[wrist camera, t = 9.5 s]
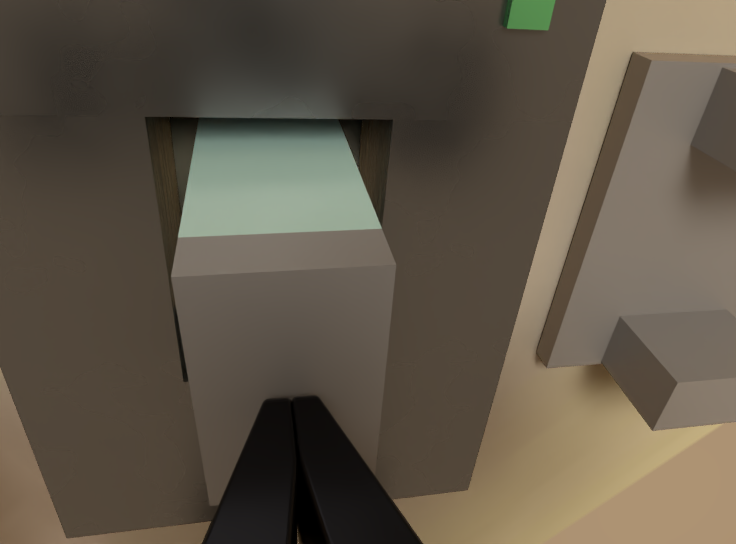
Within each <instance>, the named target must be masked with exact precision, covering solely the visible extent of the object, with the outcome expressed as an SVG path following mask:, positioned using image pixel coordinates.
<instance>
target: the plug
mask: <svg viewBox="0 0 736 544" xmlns="http://www.w3.org/2000/svg"><path fill="white" fill-rule="evenodd" d="M395 273H396V263H395V260H394V258H393V255H392V253H391V250H390V248H389V245H388V243H387V240H386V238H385V235H384V233H383V230H382V228H381V225H380V223H379V220H378V218H377V215H376V213H375V210H374V208H373V205H372V203H371V200H370V198H369V195H368V193H367V190H366V188H365V185H364V183H363V180H362V177H361V175H360V172H359V170H358V167H357V165H356V162H355V160H354V157H353V155H352V152H351V150H350V147H349V145H348V142H347V140H346V137H345V135H344V132H343V130H342V127H341V125H340V122H339V120H338V119H298V118H215V117H199V120H198V126H197V132H196V137H195V143H194V149H193V155H192V160H191V166H190V172H189V177H188V183H187V189H186V194H185V200H184V206H183V212H182V217H181V223H180V229H179V234H178V240H177V246H176V252H175V257H174V263H173V269H172V274H171V280H172V286H173V292H174V298H175V304H176V310H177V315H178V321H179V327H180V333H181V339H182V345H183V351H184V357H185V363H186V369H187V374H188V380H189V386H190V392H191V398H192V404H193V410H194V416H195V422H196V428H197V433H198V439H199V445H200V451H201V457H202V463H203V469H204V475H205V481H206V486H207V492H208V498H209V504H210V506H215V505H219V503H220V500H221V498H222V496H223V493H224V491H225V489H226V486H227V484H228V482H229V479H230V477H231V475H232V472H233V470H234V468H235V465H236V463H237V461H238V458H239V456H240V454H241V451H242V449H243V447H244V444H245V442H246V440H247V437H248V435H249V433H250V430H251V428H252V426H253V423H254V421H255V419H256V416H257V414H258V412H259V409H260V407H261V405H262V403H263V401H264V400H266V399H272V398H284V397H287V398H289V399H290V400H292V399H293V398H294V397H296V396H308V395H316V396H318V397H319V398H320V399H321V400H322V402H323V403H324V404H325V406H326V407H327V409H328V410H329V411H330V413H331V414H332V416H333V417H334V419H335V420H336V421H337V423H338V424H339V426H340V427H341V428H342V430H343V431H344V433H345V434H346V435H347V437H348V438H349V440H350V441H351V443H352V444H353V445H354V447H355V448H356V450H357V451H358V452H359V454H360V455H361V457H362V458H363V459H364V461H365V462H366V464H367V465H368V467H369V468H370V469H371V471H372V472H373V474H374V475H375V471H376V461H377V451H378V441H379V432H380V422H381V412H382V402H383V392H384V382H385V372H386V362H387V352H388V342H389V332H390V323H391V313H392V303H393V293H394V283H395Z"/></svg>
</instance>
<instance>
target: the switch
mask: <svg viewBox="0 0 736 544" xmlns="http://www.w3.org/2000/svg"><path fill="white" fill-rule="evenodd" d="M605 3H606V0H0V368H1V370H2V373H3V375H4V378H5V381H6V383H7V386H8V388H9V391H10V393H11V396H12V399H13V401H14V404H15V406H16V409H17V411H18V414H19V417H20V419H21V422H22V424H23V427H24V429H25V432H26V435H27V437H28V440H29V442H30V445H31V448H32V450H33V453H34V455H35V458H36V460H37V463H38V466H39V468H40V471H41V473H42V476H43V478H44V481H45V484H46V486H47V489H48V491H49V494H50V496H51V499H52V502H53V504H54V507H55V509H56V512H57V514H58V517H59V520H60V522H61V525H62V527H63V530H64V533H65V535H66V538H74V537H82V536H90V535H99V534H107V533H115V532H124V531H132V530H140V529H148V528H157V527H165V526H173V525H182V524H190V523H198V522H207V521H212V519H213V517H214V514H215V512H216V510H217V507H218V505H215V506H210V504H209V498H208V492H207V486H206V481H205V475H204V469H203V463H202V457H201V451H200V445H199V439H198V433H197V428H196V422H195V416H194V410H193V404H192V398H191V392H190V386H189V380H188V374H187V369H186V363H185V357H184V351H183V345H182V339H181V333H180V327H179V321H178V315H177V310H176V304H175V298H174V292H173V286H172V280H171V274H172V269H173V263H174V257H175V252H176V246H177V240H178V234H179V229H180V223H181V211H180V203H179V195H178V187H177V178H176V170H175V162H174V154H173V146H172V137H171V129H170V121H169V117H215V118H298V119H362V129H361V143H360V157H359V172H360V175H361V177H362V180H363V183H364V185H365V188H366V190H367V193H368V195H369V198H370V200H371V203H372V205H373V208H374V210H375V213H376V215H377V218H378V220H379V223H380V225H381V228H382V230H383V233H384V235H385V238H386V240H387V243H388V245H389V248H390V250H391V253H392V255H393V258H394V260H395V263H396V273H395V283H394V293H393V303H392V313H391V323H390V332H389V342H388V352H387V362H386V372H385V382H384V392H383V402H382V412H381V422H380V432H379V441H378V451H377V461H376V471H375V476H376V478H377V479H378V481H379V482H380V483H381V485H382V486H383V488H384V489H385V491H386V492H387V493H388V495H389V496H390V498H391V499H398V498H406V497H415V496H423V495H431V494H440V493H448V492H456V491H464V490H468V487H469V484H470V480H471V477H472V473H473V469H474V466H475V462H476V459H477V455H478V452H479V448H480V445H481V441H482V438H483V434H484V431H485V427H486V424H487V420H488V417H489V413H490V409H491V406H492V402H493V399H494V395H495V392H496V388H497V385H498V381H499V378H500V374H501V371H502V367H503V364H504V360H505V356H506V353H507V349H508V346H509V342H510V339H511V335H512V332H513V328H514V325H515V321H516V318H517V314H518V311H519V307H520V304H521V300H522V296H523V293H524V289H525V286H526V282H527V279H528V275H529V272H530V268H531V265H532V261H533V258H534V254H535V251H536V247H537V243H538V240H539V236H540V233H541V229H542V226H543V222H544V219H545V215H546V212H547V208H548V205H549V201H550V198H551V194H552V191H553V187H554V183H555V180H556V176H557V173H558V169H559V166H560V162H561V159H562V155H563V152H564V148H565V145H566V141H567V138H568V134H569V130H570V127H571V123H572V120H573V116H574V113H575V109H576V106H577V102H578V99H579V95H580V92H581V88H582V85H583V81H584V78H585V74H586V70H587V67H588V63H589V60H590V56H591V53H592V49H593V46H594V42H595V39H596V35H597V32H598V28H599V25H600V21H601V17H602V14H603V10H604V7H605Z"/></svg>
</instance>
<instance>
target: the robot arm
mask: <svg viewBox="0 0 736 544" xmlns="http://www.w3.org/2000/svg"><path fill="white" fill-rule="evenodd" d="M297 529H298V539H299V544H423V543H422V541H421V540H420V539H419V537H418V536H417V534H416V533H415V531H414V530H413V529H412V527H411V526H410V524H409V523H408V522H407V520H406V519H405V517H404V516H403V515H402V513H401V512H400V510H399V509H398V507H397V506H396V505H395V503H394V502H393V500H392V499H391V498H390V496H389V495H388V493H387V492H386V491H385V489H384V488H383V486H382V485H381V483H380V482H379V481H378V479H377V478H376V476H375V475H374V474H373V472H372V471H371V469H370V468H369V467H368V465H367V464H366V462H365V461H364V459H363V458H362V457H361V455H360V454H359V452H358V451H357V450H356V448H355V447H354V445H353V444H352V443H351V441H350V440H349V438H348V437H347V435H346V434H345V433H344V431H343V430H342V428H341V427H340V426H339V424H338V423H337V421H336V420H335V419H334V417H333V416H332V414H331V413H330V411H329V410H328V409H327V407H326V406H325V404H324V403H323V402H322V400H321V399H320V398H319V397H318V396H316V395H308V396H296V397H294V398H293V399H292V400H290V399H289V398H287V397H284V398H272V399H266V400H264V401H263V403H262V405H261V407H260V409H259V412H258V414H257V416H256V419H255V421H254V423H253V426H252V428H251V430H250V433H249V435H248V437H247V440H246V442H245V444H244V447H243V449H242V451H241V454H240V456H239V458H238V461H237V463H236V465H235V468H234V470H233V472H232V475H231V477H230V479H229V482H228V484H227V486H226V489H225V491H224V493H223V496H222V498H221V500H220V503H219V505H218V507H217V510H216V512H215V514H214V517H213V519H212V521H211V524H210V526H209V528H208V531H207V533H206V535H205V538H204V540H203V542H202V544H297Z"/></svg>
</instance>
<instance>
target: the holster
mask: <svg viewBox="0 0 736 544" xmlns="http://www.w3.org/2000/svg"><path fill="white" fill-rule="evenodd" d="M537 354H538V355H539V357H540V359H541V360H542V362H543V363H544V365H545V367H546V368H556V367H568V366H581V365H594V364H603V365H604V366H605V368H606V369H607V371H608V372H609V373H610V375H611V376H612V377H613V379H614V380H615V381H616V383H617V384H618V385H619V387H620V388H621V389H622V391H623V392H624V393H625V395H626V396H627V397H628V399H629V400H630V401H631V403H632V404H633V405H634V407H635V408H636V409H637V411H638V412H639V413H640V415H641V416H642V418H643V419H644V420H645V422H646V423H647V424H648V426H649V427H650V428H651V430H652V431H656V430H665V429H675V428H684V427H694V426H703V425H713V424H722V423H731V422H736V56H721V55H695V54H669V53H644V52H633V54H632V57H631V60H630V63H629V66H628V70H627V73H626V76H625V79H624V82H623V85H622V88H621V91H620V94H619V98H618V101H617V104H616V107H615V110H614V113H613V116H612V119H611V122H610V125H609V129H608V132H607V135H606V138H605V141H604V144H603V147H602V150H601V153H600V157H599V160H598V163H597V166H596V169H595V172H594V175H593V178H592V181H591V184H590V188H589V191H588V194H587V197H586V200H585V203H584V206H583V209H582V212H581V215H580V219H579V222H578V225H577V228H576V231H575V234H574V237H573V240H572V243H571V247H570V250H569V253H568V256H567V259H566V262H565V265H564V268H563V271H562V274H561V278H560V281H559V284H558V287H557V290H556V293H555V296H554V299H553V302H552V305H551V309H550V312H549V315H548V318H547V321H546V324H545V327H544V330H543V333H542V337H541V340H540V343H539V346H538V349H537Z"/></svg>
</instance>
